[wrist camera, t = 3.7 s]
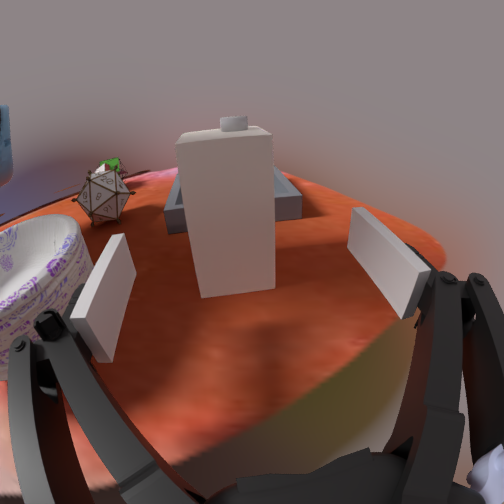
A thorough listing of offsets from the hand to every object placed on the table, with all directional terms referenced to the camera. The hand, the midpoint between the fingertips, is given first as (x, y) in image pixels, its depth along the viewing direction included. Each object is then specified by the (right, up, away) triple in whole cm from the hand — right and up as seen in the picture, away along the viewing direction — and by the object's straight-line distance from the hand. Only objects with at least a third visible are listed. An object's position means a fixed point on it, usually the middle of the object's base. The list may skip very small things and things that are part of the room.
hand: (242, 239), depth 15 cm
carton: (-1, -2, +9) cm, 10 cm away
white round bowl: (-18, -8, +3) cm, 20 cm away
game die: (-20, +4, +21) cm, 29 cm away
